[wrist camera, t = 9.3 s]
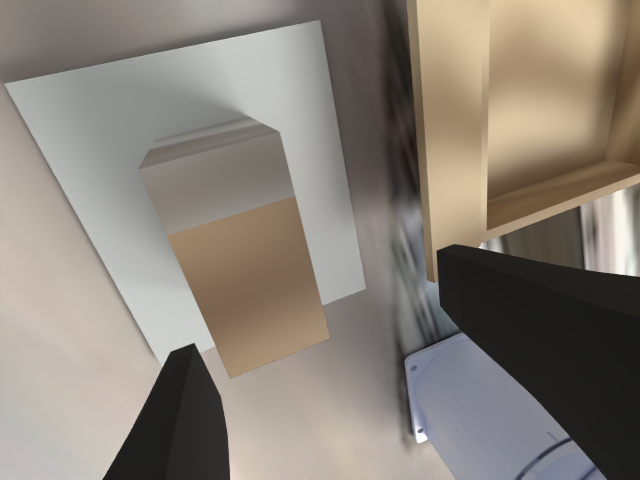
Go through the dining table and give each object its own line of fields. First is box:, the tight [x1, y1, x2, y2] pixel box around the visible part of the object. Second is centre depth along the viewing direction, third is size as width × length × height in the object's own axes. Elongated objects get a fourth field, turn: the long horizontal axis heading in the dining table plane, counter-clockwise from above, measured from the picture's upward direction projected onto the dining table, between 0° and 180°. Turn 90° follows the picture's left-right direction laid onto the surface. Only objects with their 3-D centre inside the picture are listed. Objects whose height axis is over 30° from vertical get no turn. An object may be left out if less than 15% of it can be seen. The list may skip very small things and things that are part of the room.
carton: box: [406, 0, 640, 283], centre depth 18 cm, size 13×21×5 cm, turn 101°
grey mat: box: [4, 20, 366, 367], centre depth 17 cm, size 14×12×1 cm
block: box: [138, 116, 330, 379], centre depth 14 cm, size 8×4×6 cm, turn 11°
